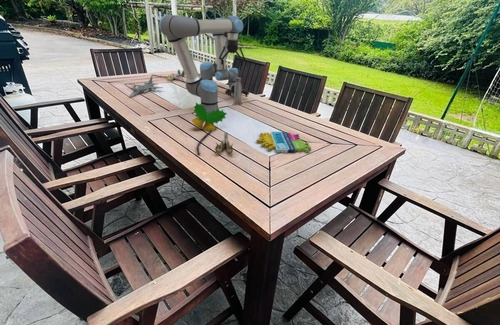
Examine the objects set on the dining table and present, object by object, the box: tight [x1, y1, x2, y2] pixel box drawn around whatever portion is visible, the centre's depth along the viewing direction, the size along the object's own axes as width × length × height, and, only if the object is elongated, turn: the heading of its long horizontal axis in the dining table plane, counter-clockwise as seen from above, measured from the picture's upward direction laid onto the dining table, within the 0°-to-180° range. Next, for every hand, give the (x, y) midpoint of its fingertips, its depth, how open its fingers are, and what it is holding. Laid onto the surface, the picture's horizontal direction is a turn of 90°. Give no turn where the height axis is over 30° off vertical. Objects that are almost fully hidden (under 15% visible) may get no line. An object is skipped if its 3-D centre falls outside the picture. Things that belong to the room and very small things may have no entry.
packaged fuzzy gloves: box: [256, 131, 312, 154], centre depth 152 cm, size 26×2×30 cm
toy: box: [160, 69, 186, 82], centre depth 280 cm, size 28×7×30 cm
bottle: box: [233, 81, 243, 106], centre depth 210 cm, size 6×6×20 cm
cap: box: [236, 76, 242, 83], centre depth 205 cm, size 4×4×2 cm
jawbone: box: [214, 131, 234, 156], centre depth 136 cm, size 9×15×10 cm
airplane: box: [127, 74, 164, 98], centre depth 226 cm, size 38×31×10 cm
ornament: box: [191, 102, 228, 132], centre depth 162 cm, size 21×8×15 cm, turn 105°
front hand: (231, 69), depth 203 cm, fingers open, 13 cm apart
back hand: (238, 95), depth 214 cm, fingers open, 13 cm apart
